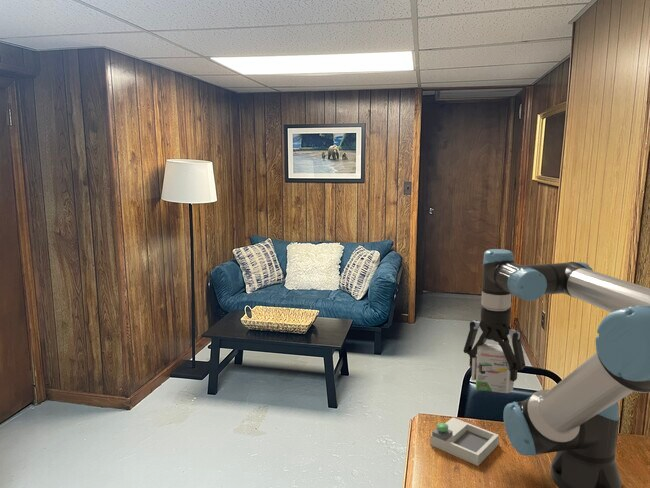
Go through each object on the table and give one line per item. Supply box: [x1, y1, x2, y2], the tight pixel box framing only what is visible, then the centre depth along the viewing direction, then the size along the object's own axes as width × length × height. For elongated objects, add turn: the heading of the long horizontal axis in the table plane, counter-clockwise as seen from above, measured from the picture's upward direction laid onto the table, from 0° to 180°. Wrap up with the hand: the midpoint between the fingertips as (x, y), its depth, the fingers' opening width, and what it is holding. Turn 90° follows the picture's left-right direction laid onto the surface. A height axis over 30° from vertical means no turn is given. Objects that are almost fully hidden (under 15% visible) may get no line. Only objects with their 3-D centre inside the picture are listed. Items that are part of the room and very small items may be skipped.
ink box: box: [475, 343, 510, 394], centre depth 131 cm, size 8×5×12 cm, turn 73°
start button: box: [436, 422, 448, 433], centre depth 132 cm, size 3×3×2 cm
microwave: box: [429, 417, 500, 467], centre depth 132 cm, size 14×12×4 cm
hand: (491, 384), depth 132 cm, fingers closed on ink box, 9 cm apart
